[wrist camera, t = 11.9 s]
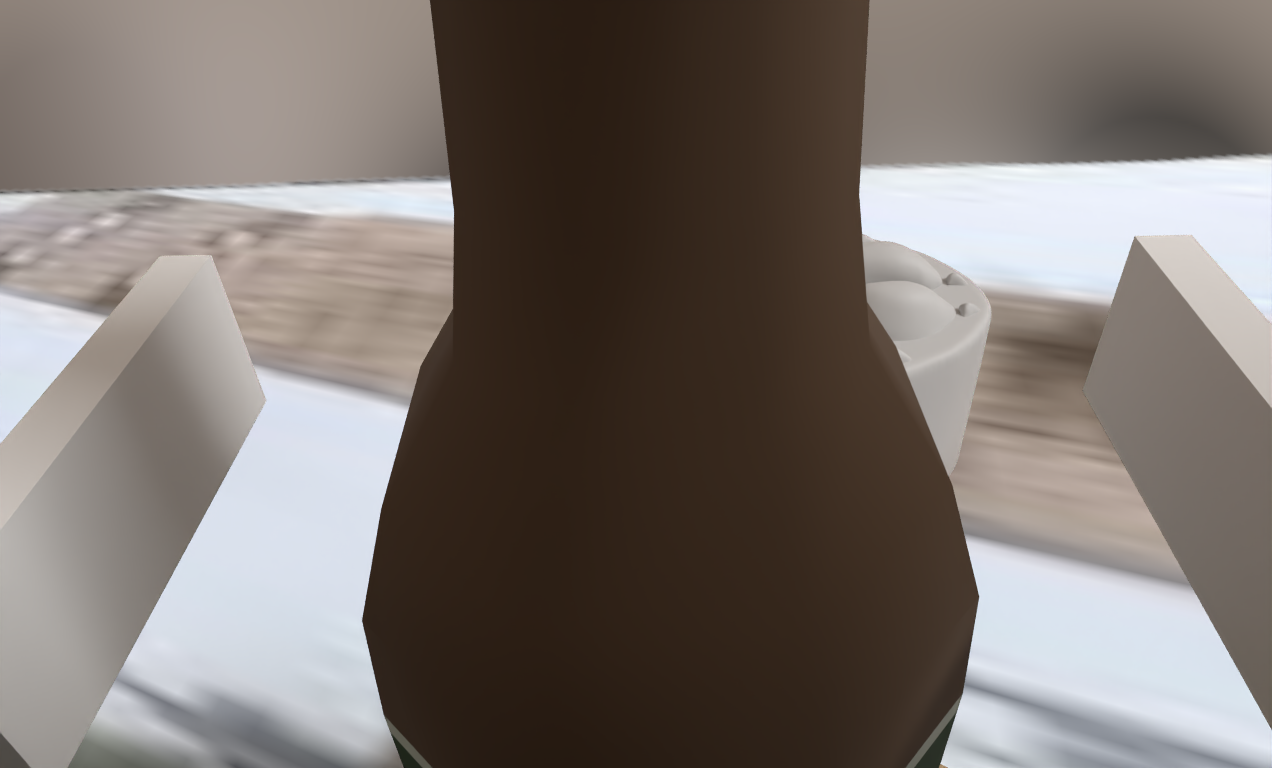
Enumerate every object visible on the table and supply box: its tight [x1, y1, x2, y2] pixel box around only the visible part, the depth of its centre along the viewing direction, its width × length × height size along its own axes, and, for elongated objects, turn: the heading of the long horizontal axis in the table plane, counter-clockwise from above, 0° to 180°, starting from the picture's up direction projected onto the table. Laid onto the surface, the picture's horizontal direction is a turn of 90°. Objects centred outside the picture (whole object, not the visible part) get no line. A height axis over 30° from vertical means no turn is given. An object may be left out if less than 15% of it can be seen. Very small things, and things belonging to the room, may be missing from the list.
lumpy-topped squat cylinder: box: [862, 234, 991, 476], centre depth 36 cm, size 10×13×9 cm
